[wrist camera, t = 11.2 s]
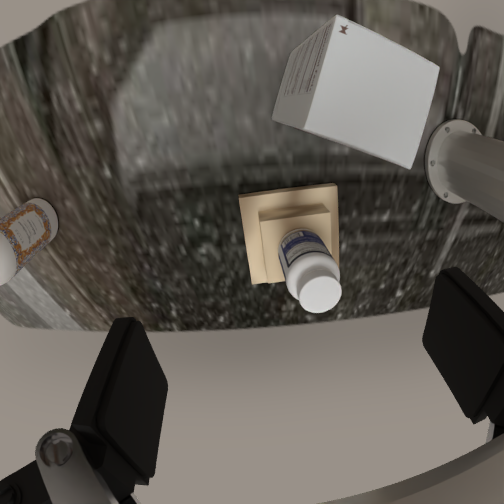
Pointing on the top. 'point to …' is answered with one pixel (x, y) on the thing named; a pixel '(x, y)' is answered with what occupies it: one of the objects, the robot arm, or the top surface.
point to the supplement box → (358, 91)
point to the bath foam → (25, 235)
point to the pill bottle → (309, 270)
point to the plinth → (284, 202)
